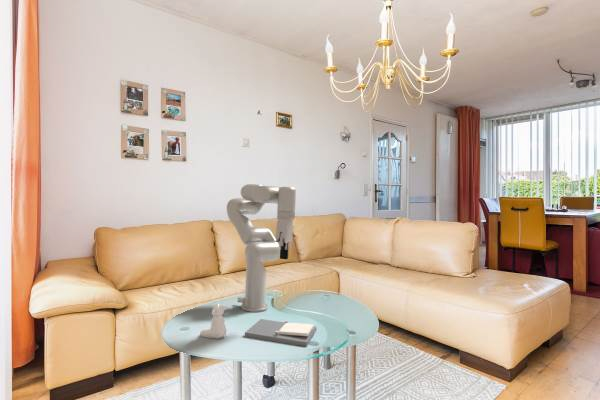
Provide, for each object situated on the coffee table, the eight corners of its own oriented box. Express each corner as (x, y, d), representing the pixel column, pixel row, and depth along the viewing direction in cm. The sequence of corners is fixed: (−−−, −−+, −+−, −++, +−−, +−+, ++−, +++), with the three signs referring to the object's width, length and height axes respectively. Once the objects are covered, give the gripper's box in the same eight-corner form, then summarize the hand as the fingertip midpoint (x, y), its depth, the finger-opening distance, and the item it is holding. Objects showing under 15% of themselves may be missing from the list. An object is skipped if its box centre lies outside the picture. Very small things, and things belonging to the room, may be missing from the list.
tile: (307, 333, 120) (307, 336, 120) (313, 324, 130) (313, 326, 130) (279, 331, 123) (279, 334, 123) (287, 322, 132) (287, 325, 132)
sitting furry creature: (220, 329, 129) (221, 298, 129) (234, 335, 124) (235, 303, 124) (199, 335, 122) (200, 303, 122) (212, 342, 116) (214, 308, 117)
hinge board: (244, 336, 123) (245, 328, 123) (260, 322, 138) (261, 315, 139) (306, 346, 117) (307, 338, 117) (316, 330, 132) (316, 323, 132)
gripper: (282, 215, 148) (281, 255, 148) (271, 215, 134) (269, 260, 134) (298, 216, 146) (297, 257, 146) (289, 216, 132) (287, 262, 132)
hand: (283, 258), depth 140 cm, fingers closed
